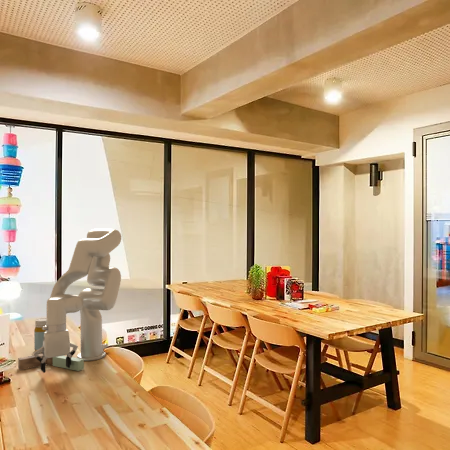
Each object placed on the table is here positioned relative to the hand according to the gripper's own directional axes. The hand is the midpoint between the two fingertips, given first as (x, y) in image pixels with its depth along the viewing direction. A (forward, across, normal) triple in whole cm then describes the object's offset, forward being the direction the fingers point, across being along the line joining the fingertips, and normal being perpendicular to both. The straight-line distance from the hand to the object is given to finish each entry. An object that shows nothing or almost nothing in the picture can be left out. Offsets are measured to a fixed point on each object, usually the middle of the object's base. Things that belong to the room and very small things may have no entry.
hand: (55, 369), depth 170 cm
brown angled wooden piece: (+2, +1, +18) cm, 18 cm away
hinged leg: (+1, +6, +5) cm, 8 cm away
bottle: (+2, +4, +38) cm, 38 cm away
